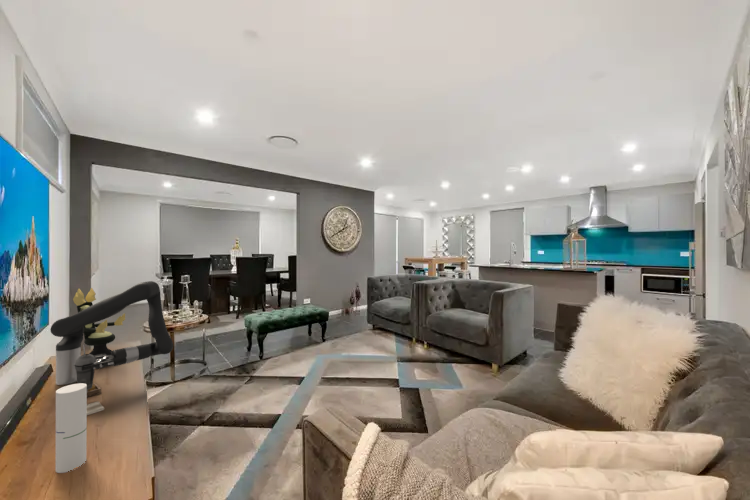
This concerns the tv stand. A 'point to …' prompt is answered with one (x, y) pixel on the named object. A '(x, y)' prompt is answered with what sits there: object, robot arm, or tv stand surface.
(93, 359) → the beverage cup
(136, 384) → the tv stand surface
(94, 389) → the marble tray
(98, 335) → the black yellow plant sculpture
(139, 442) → the tv stand surface
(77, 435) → the cylindrical container
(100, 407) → the ash board
